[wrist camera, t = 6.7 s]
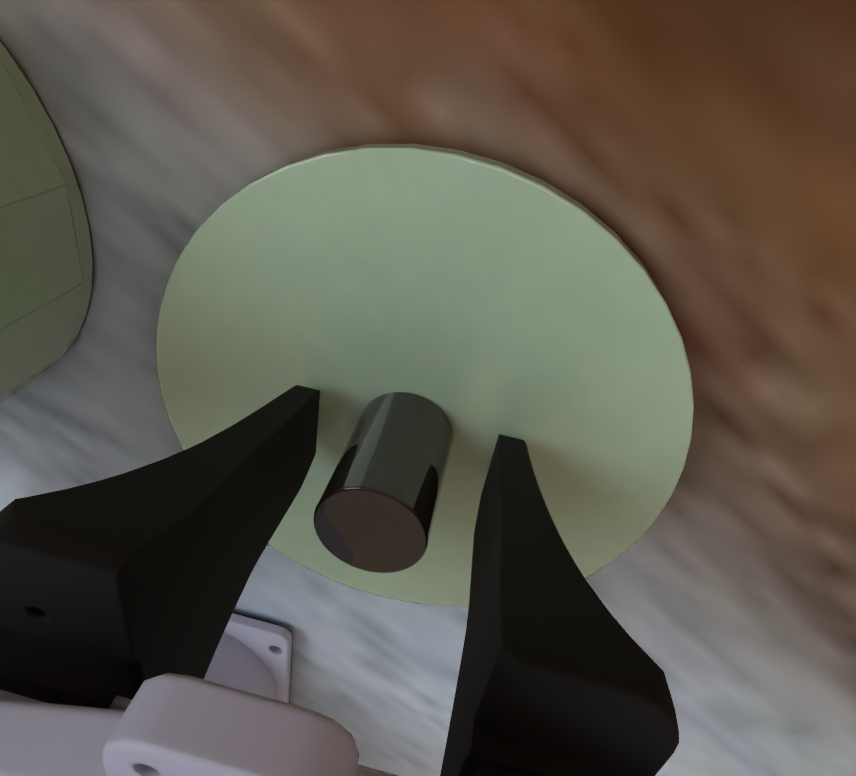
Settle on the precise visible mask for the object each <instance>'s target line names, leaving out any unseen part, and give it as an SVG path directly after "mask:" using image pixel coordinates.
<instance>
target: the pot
mask: <svg viewBox="0 0 856 776" xmlns="http://www.w3.org/2000/svg"><path fill="white" fill-rule="evenodd" d="M92 269H93V258H92V248H91V239H90V230H89V225H88V221H87V217H86V212H85V208H84V204H83V199H82V196H81V193H80V190H79V187H78V184H77V181H76V178H75V175H74V172H73V169H72V166H71V163H70V161H69V159H68V156H67V154H66V152H65V150H64V148H63V145H62V143H61V141H60V139H59V136H58V134H57V132H56V130H55V128H54V125H53V123H52V122H51V120H50V118H49V116H48V115H47V113H46V111H45V109H44V107H43V106H42V104H41V102H40V100H39V99H38V97H37V95H36V93H35V91H34V90H33V88H32V86H31V85H30V83H29V82H28V80H27V79H26V77H25V76H24V74H23V73H22V71H21V70H20V68H19V67H18V65H17V64H16V62H15V61H14V60H13V58H12V57H11V55H10V54H9V52H8V51H7V49H6V48H5V46H4V45H3V44H2V43H1V41H0V404H1V403H2V402H4V401H5V400H7V399H8V398H10V397H11V396H12V395H14V394H15V393H17V392H18V391H20V390H21V389H22V388H24V387H25V386H26V385H27V384H28V383H30V382H31V381H32V380H33V379H34V378H36V377H37V376H38V375H39V374H40V373H42V372H43V371H44V370H46V369H47V368H49V367H50V366H51V365H53V364H54V363H56V362H57V361H58V360H59V359H60V358H61V356H62V355H63V354H64V353H65V352H66V351H67V350H68V349H69V348H70V346H71V345H72V343H73V341H74V340H75V338H76V337H77V335H78V333H79V332H80V329H81V327H82V324H83V321H84V319H85V316H86V313H87V311H88V306H89V300H90V295H91V290H92Z"/></svg>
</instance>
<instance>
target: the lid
mask: <svg viewBox="0 0 856 776" xmlns="http://www.w3.org/2000/svg"><path fill="white" fill-rule="evenodd" d="M156 359H157V372H158V378H159V383H160V388H161V394H162V398H163V401H164V404H165V407H166V410H167V413H168V416H169V419H170V423H171V425H172V427H173V429H174V431H175V434H176V436H177V438H178V440H179V442H180V444H181V446H182V449H183V450H186V449H188V448H190V447H192V446H195V445H197V444H199V443H201V442H203V441H205V440H207V439H208V438H210V437H212V436H214V435H216V434H218V433H219V432H221V431H223V430H225V429H227V428H229V427H230V426H232V425H234V424H235V423H237V422H239V421H240V420H242V419H244V418H245V417H247V416H248V415H250V414H252V413H253V412H255V411H256V410H258V409H260V408H261V407H263V406H264V405H266V404H267V403H269V402H270V401H272V400H273V399H275V398H276V397H278V396H280V395H281V394H283V393H284V392H286V391H287V390H289V389H290V388H292V387H294V386H295V385H300V386H304V387H308V388H312V389H316V390H320V400H319V415H318V429H317V444H316V454H315V457H314V459H313V462H312V464H311V466H310V469H309V471H308V473H307V476H306V478H305V480H304V482H303V485H302V487H301V489H300V490H299V492H298V494H297V496H296V497H295V499H294V501H293V502H292V504H291V506H290V507H289V509H288V511H287V512H286V514H285V516H284V517H283V519H282V521H281V522H280V524H279V526H278V527H277V529H276V531H275V532H274V534H273V536H272V537H271V539H270V541H269V542H268V544H269V545H270V546H272V547H273V548H275V549H276V550H277V551H279V552H281V553H282V554H284V555H286V556H287V557H289V558H290V559H292V560H294V561H295V562H297V563H299V564H300V565H302V566H304V567H306V568H308V569H310V570H312V571H314V572H316V573H318V574H320V575H322V576H324V577H326V578H329V579H331V580H334V581H336V582H339V583H341V584H344V585H346V586H349V587H352V588H355V589H358V590H361V591H364V592H368V593H371V594H374V595H377V596H382V597H386V598H391V599H395V600H400V601H404V602H412V603H419V604H427V605H438V606H459V607H460V606H469V597H470V583H471V568H472V554H473V541H474V530H475V525H476V519H477V514H478V509H479V503H480V498H481V494H482V490H483V487H484V483H485V480H486V476H487V473H488V470H489V466H490V463H491V459H492V456H493V453H494V449H495V446H496V442H497V439H498V435H499V434H501V435H505V436H509V437H513V438H517V439H522V440H524V441H525V443H526V444H527V448H528V452H529V456H530V460H531V464H532V467H533V470H534V473H535V476H536V479H537V482H538V485H539V488H540V491H541V493H542V496H543V498H544V501H545V503H546V506H547V508H548V511H549V513H550V515H551V517H552V520H553V522H554V524H555V526H556V528H557V530H558V532H559V534H560V536H561V538H562V540H563V542H564V544H565V546H566V548H567V549H568V551H569V553H570V555H571V556H572V558H573V560H574V562H575V563H576V565H577V567H578V568H579V570H580V571H581V573H582V574H583V576H584V578H585V577H587V576H590V575H592V574H593V573H595V572H596V571H598V570H600V569H601V568H603V567H604V566H606V565H607V564H609V563H610V562H612V561H614V560H615V559H616V558H618V557H619V556H620V555H621V554H622V553H624V552H625V551H626V550H627V549H628V548H629V547H631V546H632V545H633V544H634V543H635V542H637V541H638V539H639V538H640V537H641V536H642V535H643V534H644V533H645V532H646V530H647V529H648V528H649V527H650V526H651V525H652V524H653V523H654V521H655V520H656V519H657V517H658V516H659V514H660V513H661V511H662V510H663V508H664V507H665V505H666V504H667V502H668V500H669V499H670V497H671V496H672V494H673V491H674V489H675V487H676V485H677V482H678V480H679V478H680V476H681V473H682V471H683V469H684V466H685V462H686V458H687V454H688V450H689V446H690V442H691V438H692V427H693V415H694V398H693V387H692V376H691V370H690V366H689V362H688V359H687V355H686V351H685V347H684V343H683V340H682V336H681V334H680V331H679V329H678V327H677V324H676V322H675V320H674V318H673V315H672V313H671V311H670V309H669V307H668V304H667V302H666V300H665V298H664V295H663V294H662V292H661V291H660V289H659V288H658V286H657V285H656V283H655V282H654V280H653V279H652V277H651V276H650V274H649V272H648V271H647V269H646V268H645V266H644V265H643V263H642V262H641V261H640V260H639V259H638V257H637V256H636V255H635V254H634V253H633V252H632V251H631V250H630V249H629V247H628V246H627V245H626V244H625V243H624V242H623V241H622V240H621V238H620V237H619V236H618V235H617V234H616V233H615V232H614V231H613V230H612V229H611V228H609V227H608V226H607V225H606V224H605V223H603V222H602V221H601V220H600V219H599V218H598V217H596V216H595V215H594V214H593V213H592V212H590V211H589V210H588V209H587V208H586V207H584V206H583V205H582V204H581V203H579V202H577V201H576V200H574V199H573V198H571V197H569V196H568V195H566V194H564V193H563V192H561V191H560V190H558V189H556V188H555V187H553V186H552V185H550V184H548V183H547V182H545V181H543V180H541V179H539V178H537V177H534V176H532V175H530V174H528V173H525V172H523V171H521V170H519V169H516V168H514V167H512V166H509V165H507V164H505V163H503V162H499V161H496V160H492V159H489V158H485V157H482V156H478V155H475V154H471V153H468V152H464V151H461V150H456V149H449V148H442V147H434V146H427V145H420V144H367V145H361V146H354V147H348V148H341V149H334V150H329V151H326V152H323V153H319V154H316V155H313V156H310V157H307V158H303V159H300V160H297V161H294V162H291V163H289V164H287V165H285V166H283V167H281V168H279V169H277V170H275V171H273V172H271V173H269V174H267V175H265V176H263V177H261V178H259V179H257V180H255V181H253V182H252V183H250V184H249V185H247V186H246V187H245V188H243V189H242V190H240V191H239V192H238V193H236V194H235V195H233V196H232V197H231V198H229V199H228V200H226V201H225V202H224V203H222V204H221V205H220V206H219V207H218V208H217V209H216V210H215V211H214V212H213V213H212V214H211V215H210V216H209V217H208V218H207V219H206V220H205V221H204V222H203V224H202V225H201V226H200V227H199V228H198V229H197V230H196V232H195V233H194V235H193V236H192V238H191V239H190V240H189V242H188V243H187V245H186V246H185V248H184V249H183V251H182V252H181V253H180V255H179V257H178V260H177V262H176V264H175V266H174V268H173V270H172V272H171V275H170V277H169V279H168V281H167V284H166V287H165V291H164V295H163V298H162V302H161V306H160V309H159V314H158V324H157V333H156Z"/></svg>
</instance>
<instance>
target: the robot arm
mask: <svg viewBox="0 0 856 776" xmlns="http://www.w3.org/2000/svg"><path fill="white" fill-rule="evenodd" d="M319 400H320V390H316V389H312V388H308V387H304V386H300V385H295V386H294V387H292V388H290V389H289V390H287V391H286V392H284V393H283V394H281V395H280V396H278V397H276V398H275V399H273V400H272V401H270V402H269V403H267V404H266V405H264V406H263V407H261V408H260V409H258V410H256V411H255V412H253V413H252V414H250V415H248V416H247V417H245V418H244V419H242V420H240V421H239V422H237V423H235V424H234V425H232V426H230V427H229V428H227V429H225V430H223V431H221V432H219V433H218V434H216V435H214V436H212V437H210V438H208V439H207V440H205V441H203V442H201V443H199V444H197V445H195V446H192V447H190V448H188V449H186V450H184V451H181V452H179V453H177V454H175V455H172V456H170V457H168V458H165V459H163V460H160V461H157V462H155V463H152V464H149V465H146V466H143V467H141V468H138V469H135V470H132V471H129V472H127V473H124V474H121V475H117V476H114V477H111V478H107V479H104V480H100V481H97V482H93V483H89V484H85V485H82V486H78V487H73V488H69V489H65V490H60V491H55V492H50V493H45V494H40V495H35V496H31V497H25V498H20V499H15V500H14V501H13V502H11V503H10V504H9V505H8V506H7V507H5V508H4V509H3V510H2V511H1V512H0V776H397V775H394V774H390V773H387V772H383V771H380V770H376V769H373V768H369V767H366V766H362V765H359V764H358V761H359V752H358V749H357V746H356V743H355V740H354V738H353V736H352V734H350V733H349V732H348V731H347V730H346V729H345V728H344V727H342V726H341V725H340V724H339V723H338V722H337V721H335V720H334V719H331V718H329V717H327V716H324V715H322V714H320V713H317V712H315V711H313V710H311V709H307V708H303V707H300V706H296V705H293V704H289V689H290V670H291V650H292V635H291V633H290V632H289V631H288V630H287V629H286V628H284V627H281V626H278V625H275V624H271V623H267V622H264V621H260V620H256V619H253V618H249V617H245V616H242V615H238V614H234V613H233V610H234V608H235V606H236V604H237V602H238V600H239V597H240V595H241V593H242V591H243V589H244V587H245V585H246V582H247V580H248V578H249V576H250V574H251V572H252V570H253V568H254V566H255V565H256V563H257V561H258V559H259V557H260V556H261V554H262V552H263V551H264V549H265V547H266V546H267V544H268V542H269V541H270V539H271V537H272V536H273V534H274V532H275V531H276V529H277V527H278V526H279V524H280V522H281V521H282V519H283V517H284V516H285V514H286V512H287V511H288V509H289V507H290V506H291V504H292V502H293V501H294V499H295V497H296V496H297V494H298V492H299V490H300V489H301V487H302V485H303V482H304V480H305V478H306V476H307V473H308V471H309V469H310V466H311V464H312V462H313V459H314V457H315V454H316V444H317V429H318V415H319ZM678 743H679V730H678V724H677V718H676V713H675V708H674V705H673V701H672V698H671V694H670V691H669V688H668V684H667V681H666V678H665V675H664V672H663V670H662V669H661V668H660V667H659V666H658V665H657V664H656V663H655V662H654V661H653V660H652V659H651V658H650V657H649V656H648V655H647V654H646V653H645V652H644V651H643V650H642V649H641V648H640V647H639V645H638V644H637V643H636V642H635V641H634V640H633V639H632V638H631V637H630V636H629V635H628V634H627V633H626V631H625V630H624V629H623V628H622V627H621V625H620V624H619V623H618V622H617V621H616V619H615V618H614V617H613V616H612V615H611V614H610V612H609V611H608V610H607V608H606V607H605V606H604V604H603V603H602V602H601V600H600V599H599V597H598V596H597V595H596V593H595V592H594V591H593V589H592V588H591V586H590V585H589V584H588V582H587V581H586V579H585V578H584V576H583V574H582V573H581V571H580V570H579V568H578V567H577V565H576V563H575V562H574V560H573V558H572V556H571V555H570V553H569V551H568V549H567V548H566V546H565V544H564V542H563V540H562V538H561V536H560V534H559V532H558V530H557V528H556V526H555V524H554V522H553V520H552V517H551V515H550V513H549V511H548V508H547V506H546V503H545V501H544V498H543V496H542V493H541V491H540V488H539V485H538V482H537V479H536V476H535V473H534V470H533V467H532V464H531V460H530V456H529V452H528V448H527V444H526V443H525V441H524V440H522V439H517V438H513V437H509V436H505V435H501V434H499V435H498V439H497V442H496V446H495V449H494V453H493V456H492V459H491V463H490V466H489V470H488V473H487V476H486V480H485V483H484V487H483V490H482V494H481V498H480V503H479V509H478V514H477V519H476V525H475V530H474V541H473V554H472V568H471V583H470V597H469V611H468V620H467V629H466V635H465V641H464V647H463V653H462V659H461V665H460V671H459V676H458V682H457V688H456V693H455V699H454V705H453V710H452V716H451V721H450V727H449V732H448V737H447V743H446V748H445V754H444V759H443V764H442V770H441V775H440V776H655V775H656V773H657V772H658V771H659V770H660V769H661V767H662V766H663V765H664V764H665V763H666V761H667V760H668V759H669V758H670V757H671V755H672V754H673V753H674V751H675V749H676V747H677V745H678Z"/></svg>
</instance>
